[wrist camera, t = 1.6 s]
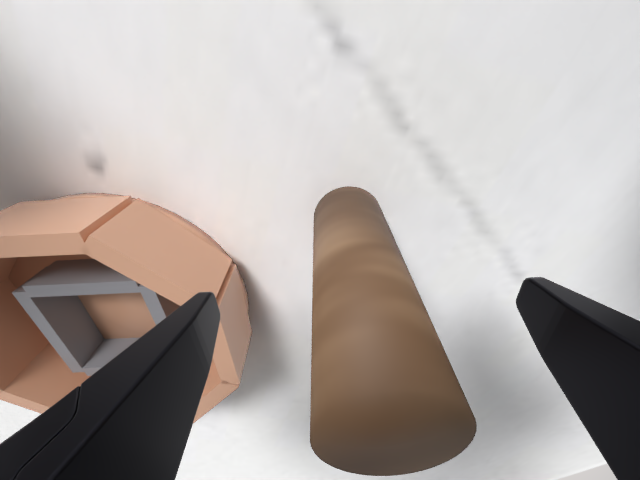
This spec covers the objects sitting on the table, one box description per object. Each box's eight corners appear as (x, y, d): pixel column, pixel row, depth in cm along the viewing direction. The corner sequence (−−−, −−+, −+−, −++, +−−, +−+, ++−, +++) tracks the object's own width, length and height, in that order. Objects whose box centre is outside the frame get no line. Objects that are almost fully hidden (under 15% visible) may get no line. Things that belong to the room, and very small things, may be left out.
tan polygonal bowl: (222, 186, 12) (191, 227, 9) (263, 364, 18) (252, 425, 15) (-50, 199, 12) (-172, 244, 9) (78, 372, 18) (30, 434, 15)
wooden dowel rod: (383, 184, 12) (496, 386, 5) (379, 245, 14) (458, 473, 6) (311, 188, 12) (304, 393, 5) (315, 248, 14) (314, 478, 6)
